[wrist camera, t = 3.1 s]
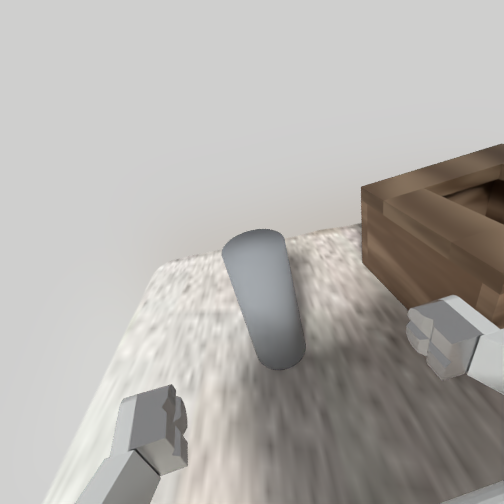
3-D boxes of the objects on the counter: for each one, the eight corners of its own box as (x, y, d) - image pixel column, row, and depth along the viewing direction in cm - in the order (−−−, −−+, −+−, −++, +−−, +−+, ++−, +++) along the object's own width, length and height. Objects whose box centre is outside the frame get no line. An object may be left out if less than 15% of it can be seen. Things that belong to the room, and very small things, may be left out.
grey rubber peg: (295, 322, 30) (274, 223, 24) (313, 359, 26) (293, 253, 19) (252, 336, 30) (218, 240, 23) (262, 376, 26) (226, 274, 19)
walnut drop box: (481, 224, 36) (501, 143, 31) (658, 311, 23) (750, 194, 17) (362, 262, 35) (360, 186, 30) (472, 376, 22) (506, 275, 16)
